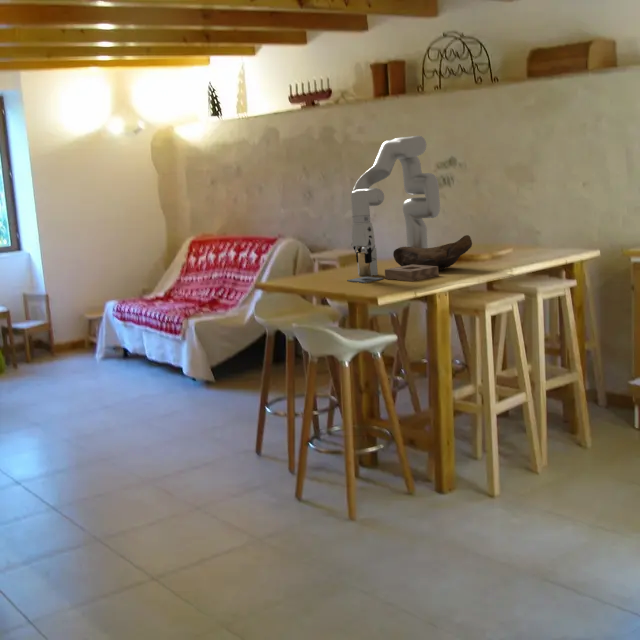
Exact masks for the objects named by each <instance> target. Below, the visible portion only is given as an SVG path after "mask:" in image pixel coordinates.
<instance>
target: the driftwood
mask: <svg viewBox="0 0 640 640" xmlns="http://www.w3.org/2000/svg"><path fill="white" fill-rule="evenodd" d="M472 245H473V242H472V237H471V236H470V235H469V234H468V235H467V234H466V235H463V236H462V237H461V238H459V240H457V241H455V242H451V243H446V244H442V245H439V246H434V247H428V248H414V247H407V246H400V247H398V248H395V249H394V250H393V254H392V255H393V258H394V260H395V263H396V264H398V265H399V267H401V266H407V265H426V266H438V271H441V270H445V269H448V268H449V267H452V266H453V265H454V264H455V263H456V262H457V261H458V260H459V258H460V257H461V256H462V255H464V254H466V253H467V252H468V251H469V250H470V249H471V248H472Z"/></svg>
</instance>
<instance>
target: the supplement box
mask: <svg viewBox="0 0 640 640" xmlns="http://www.w3.org/2000/svg"><path fill="white" fill-rule="evenodd" d="M367 249H369V248H367ZM362 252H365V248H364V247H362ZM371 256H372V262H371V263H370V268H371V276H370V277H374V276H378V275H379V274H378V260H377V259H378V257H377V256H378V255H377V246H375V248H374V249H373V251H372V253H371ZM357 273H358V276H359V264H358V263H357ZM373 275H374V276H373Z"/></svg>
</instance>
